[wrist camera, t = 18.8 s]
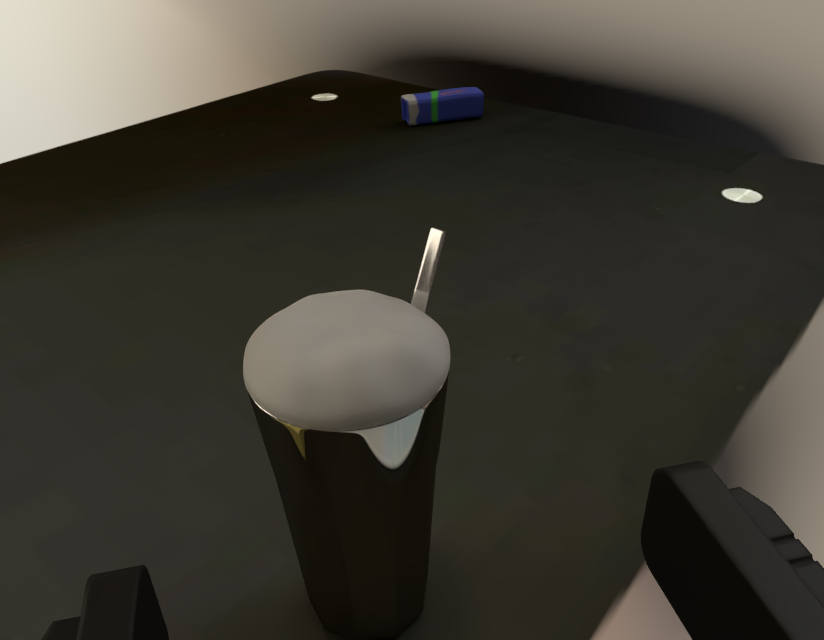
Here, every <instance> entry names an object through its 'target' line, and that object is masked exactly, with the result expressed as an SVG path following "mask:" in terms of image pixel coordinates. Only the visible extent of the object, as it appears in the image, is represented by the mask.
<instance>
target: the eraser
mask: <svg viewBox="0 0 824 640" xmlns="http://www.w3.org/2000/svg"><path fill="white" fill-rule="evenodd" d="M483 102H484V95H483V92H482V91H481V90H479V89H478V88H476V87H467V88H453V89H447V90H439V91H433V92H427V93H419V94H409V95H402V96H401V107H402V118H403V119H404V120H406V121H407V124H408V125H410V126H412V125H422V124H430V123H437V122H443V121H452V120H461V119H467V118H475V117H481V116H482V114H483Z"/></svg>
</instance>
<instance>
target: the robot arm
mask: <svg viewBox="0 0 824 640" xmlns="http://www.w3.org/2000/svg"><path fill="white" fill-rule="evenodd" d="M641 544H642V550H643V554H644V557H645V560H646V563H647V565H648V567H649V569H650V571H651V573H652V575H653V576H654V578H655V579H656V581H657V583H658V584H659V586H660V587H661V589H662V591H663V592H664V594H665V596H666V597H667V599H668V600H669V602H670V604H671V605H672V607H673V609H674V610H675V612H676V614H677V615H678V617H679V619H680V620H681V622H682V623H683V625H684V627H685V628H686V630H687V631H688V633H689V635H690V636H691V638H692V640H824V568H823V567H822V566H821V565H820V563H819V562H818V561H814V560H813V558H812V554H811V553H810V552H809V551H808V550H807V548H806V547H805V546H804V545H803V544H802V543H801V541H800V540H799V539H795V538H794V533H793V532H792V531H791V530H790V529H789V528H788V526H787V525H786V524H785V523H784V522H783V521H782V519H781V518H780V517H779V516H778V515H777V514H776V512H775V511H774V510H773V509H772V508H771V507H770V506H768V505H767V504H765V503H764V502H762V501H760V500H759V499H758V498H756V497H755V496H753V495H752V494H750V493H749V492H747V491H746V490H744V489H743V488H741V487H737V488H732V489H728V488H727V486H726V485H725V484H724V483H723V481H722V480H721V479H720V478H719V477H718V475H717V474H716V473H715V472H714V470H713V469H712V468H711V467H710V466H709V465H708V464H706V463H705V462H703V461H696V462H690V463H685V464H680V465H675V466H669V467H664V468H659V469H656V470H655V471H654V473H653V475H652V478H651V484H650V489H649V494H648V499H647V504H646V509H645V514H644V520H643V525H642V530H641ZM41 640H169V637H168V632H167V628H166V624H165V621H164V618H163V615H162V612H161V609H160V606H159V603H158V600H157V597H156V594H155V590H154V587H153V584H152V581H151V578H150V575H149V572H148V570H147V568H146V566H145V565H141V566H135V567H130V568H125V569H120V570H114V571H109V572H104V573H99V574H93V575H91V576H90V577H89V578H88V581H87V583H86V588H85V593H84V599H83V605H82V610H81V616H80V617H75V618H70V619H65V620H60V621H55V622H52V624H51V625H50V627H49V629H48V630H47V632H46V633H45V635H44V636H43V638H42V639H41Z"/></svg>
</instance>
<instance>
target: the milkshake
mask: <svg viewBox="0 0 824 640" xmlns="http://www.w3.org/2000/svg"><path fill="white" fill-rule="evenodd" d="M444 239H445V232H444V231H442V230H439V229H437V228H434V227H432V228H431V229H430V232H429V236H428V239H427V243H426V247H425V251H424V255H423V259H422V262H421V266H420V270H419V274H418V278H417V282H416V285H415V289H414V293H413V297H412V301H411V304H409V303H407V302H405V301H403V300H401V299H398V298H394V297H390V296H386V295H383V294H380V293H377V292H373V291H369V290H348V291H337V292H329V293H322V294H315V295H310V296H307V297H305V298H303V299H301V300H299V301H297V302H295V303H294V304H292V305H290V306H289V307H287V308H285V309H283V310H281V311H280V312H278V313H276V314H274V315H273V316H271V317H270V318H269V319H267V320H266V321H265V322H264V323H263V324H261V325H260V326H259V327H258V328H257V329H256V331H255V332H254V333H253V334H252V336H251V338H250V339H249V341H248V343H247V346H246V349H245V353H244V362H243V374H244V382H245V385H246V388H247V392H248V395H249V398H250V401H251V404H252V407H253V411H254V414H255V417H256V420H257V423H258V426H259V429H260V432H261V435H262V439H263V442H264V445H265V448H266V451H267V454H268V457H269V460H270V463H271V466H272V469H273V472H274V475H275V478H276V482H277V485H278V489H279V492H280V496H281V500H282V503H283V507H284V511H285V514H286V518H287V521H288V525H289V529H290V532H291V536H292V540H293V543H294V547H295V550H296V554H297V558H298V561H299V565H300V569H301V572H302V576H303V579H304V583H305V587H306V590H307V594H308V597H309V600H310V602H311V604H312V606H313V608H314V610H315V612H316V614H317V616H318V618H319V620H320V622H321V624H322V626H323V628H324V630H326V631H329V632H331V633H334V634H336V635H338V636H341V637H343V638H345V639H348V640H382V639H387V638H393V637H396V636H397V635H398V634H400V633H401V632H402V631H403V630H404V629H405V628H406V627H407V626H408V625H409V624H410V623H411V622H412V621H413V620H414V619H416V618H417V617H418V616H419V615H420V614H421V613H422V611H423V605H424V598H425V591H426V584H427V577H428V565H429V552H430V539H431V526H432V513H433V500H434V487H435V474H436V464H437V459H438V454H439V449H440V442H441V434H442V426H443V418H444V409H445V401H446V392H447V384H448V376H449V366H450V347H449V342H448V338H447V336H446V334H445V332H444V331H443V329H442V328H441V327H440V326H439V325H438V324H437V323H436V322H435V321H434V320H433V319H431V318H430V317H429V316H427V315H426V314H425V311H426V307H427V303H428V299H429V296H430V292H431V288H432V284H433V280H434V277H435V273H436V269H437V265H438V262H439V258H440V254H441V250H442V246H443V243H444Z"/></svg>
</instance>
